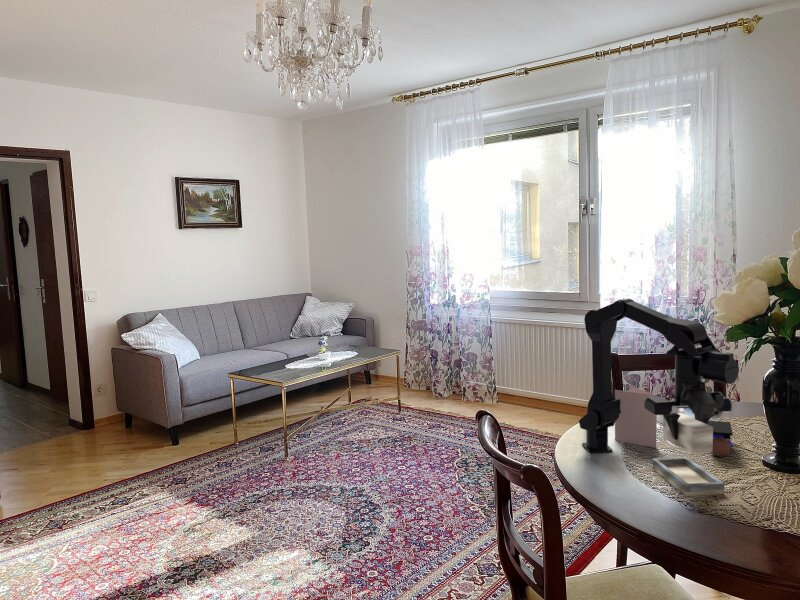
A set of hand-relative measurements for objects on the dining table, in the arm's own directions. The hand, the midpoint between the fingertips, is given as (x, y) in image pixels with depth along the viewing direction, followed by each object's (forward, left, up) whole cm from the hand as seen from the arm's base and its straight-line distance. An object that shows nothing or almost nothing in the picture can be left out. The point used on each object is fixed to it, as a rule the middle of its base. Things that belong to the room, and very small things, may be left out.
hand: (686, 438), depth 141 cm
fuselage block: (0, 0, -2) cm, 2 cm away
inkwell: (-37, +18, -11) cm, 42 cm away
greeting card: (-26, -1, -11) cm, 28 cm away
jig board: (0, 0, -10) cm, 11 cm away
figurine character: (-18, +19, -11) cm, 28 cm away
